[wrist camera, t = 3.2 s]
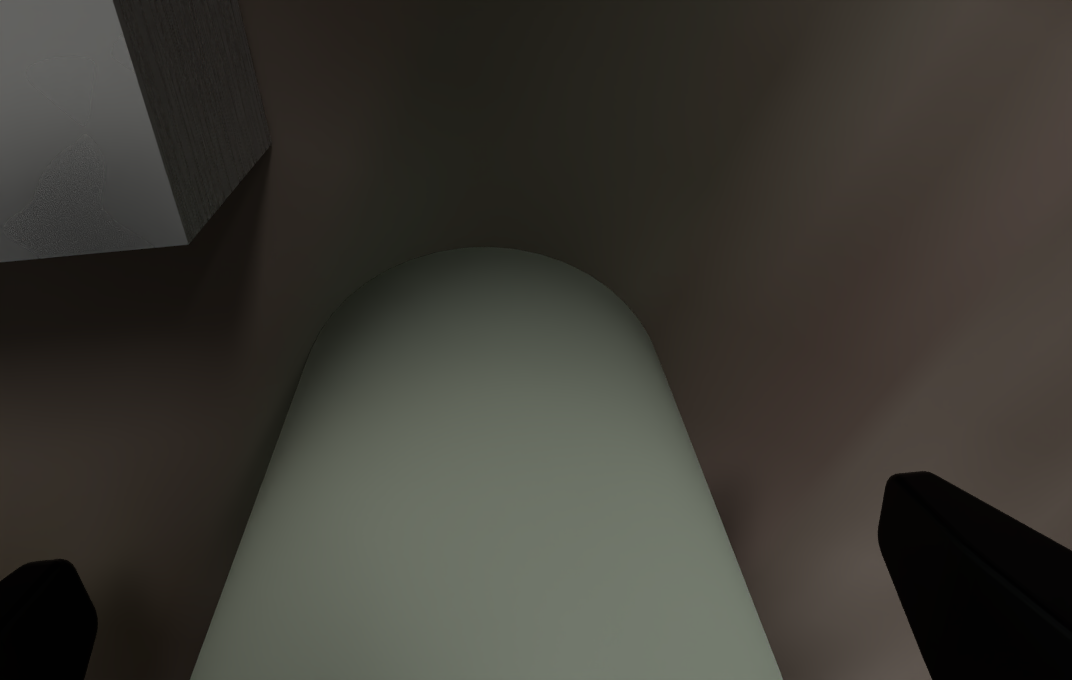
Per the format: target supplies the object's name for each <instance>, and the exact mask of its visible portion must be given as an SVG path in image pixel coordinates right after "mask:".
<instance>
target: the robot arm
mask: <svg viewBox="0 0 1072 680" xmlns="http://www.w3.org/2000/svg"><path fill="white" fill-rule="evenodd" d="M878 542H879V547H880V550H881V553H882V556H883V558H884V561H885V563H886V566H887V568H888V571H889V574H890V576H891V579H892V581H893V584H894V586H895V589H896V591H897V594H898V596H899V599H900V601H901V604H902V606H903V609H904V611H905V614H906V616H907V619H908V622H909V624H910V627H911V629H912V632H913V634H914V637H915V639H916V642H917V644H918V647H919V649H920V652H921V654H922V657H923V659H924V662H925V664H926V666H927V669H928V671H929V673H930V676H931V678H932V680H1072V551H1071V550H1070V549H1068V548H1066V547H1064V546H1062V545H1061V544H1059V543H1057V542H1055V541H1053V540H1052V539H1050V538H1048V537H1046V536H1044V535H1043V534H1041V533H1039V532H1037V531H1035V530H1034V529H1032V528H1030V527H1028V526H1027V525H1025V524H1023V523H1021V522H1019V521H1018V520H1016V519H1014V518H1012V517H1010V516H1009V515H1007V514H1005V513H1003V512H1001V511H1000V510H998V509H996V508H994V507H992V506H991V505H989V504H987V503H985V502H983V501H982V500H980V499H978V498H976V497H974V496H973V495H971V494H969V493H967V492H965V491H964V490H962V489H960V488H958V487H956V486H955V485H953V484H951V483H949V482H947V481H946V480H944V479H942V478H940V477H939V476H937V475H935V474H933V473H930V472H926V471H919V472H909V473H899V474H894V475H892V476H891V477H890V478H889V479H888V481H887V483H886V486H885V492H884V497H883V503H882V509H881V515H880V520H879V526H878ZM97 626H98V620H97V613H96V610H95V607H94V605H93V603H92V601H91V599H90V597H89V595H88V593H87V591H86V589H85V587H84V585H83V583H82V581H81V579H80V577H79V575H78V573H77V571H76V569H75V567H74V565H73V564H72V563H70V562H69V561H67V560H64V559H54V560H45V561H35V562H30V563H27V564H24V565H22V566H21V567H19V568H18V569H17V570H15V571H14V572H12V573H11V574H10V575H8V576H7V577H6V578H4V579H3V580H1V581H0V680H84V678H85V674H86V671H87V667H88V663H89V660H90V656H91V652H92V649H93V645H94V641H95V638H96V634H97Z"/></svg>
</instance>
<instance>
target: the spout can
mask: <svg viewBox="0 0 1072 680" xmlns="http://www.w3.org/2000/svg"><path fill="white" fill-rule="evenodd" d="M190 680H783V678H782V676H781V673H780V670H779V668H778V665H777V663H776V660H775V657H774V655H773V652H772V650H771V647H770V645H769V642H768V639H767V637H766V634H765V632H764V629H763V627H762V624H761V621H760V619H759V616H758V614H757V611H756V609H755V606H754V603H753V601H752V598H751V596H750V593H749V590H748V588H747V585H746V583H745V580H744V578H743V575H742V572H741V570H740V567H739V565H738V562H737V560H736V557H735V554H734V552H733V549H732V547H731V544H730V542H729V539H728V536H727V534H726V531H725V529H724V526H723V523H722V521H721V518H720V516H719V513H718V511H717V508H716V505H715V503H714V500H713V498H712V495H711V493H710V490H709V487H708V485H707V482H706V480H705V477H704V475H703V472H702V469H701V467H700V464H699V462H698V459H697V456H696V454H695V451H694V449H693V446H692V444H691V441H690V438H689V436H688V433H687V431H686V428H685V426H684V423H683V420H682V418H681V415H680V413H679V410H678V408H677V405H676V402H675V400H674V397H673V395H672V392H671V390H670V387H669V384H668V382H667V379H666V377H665V374H664V371H663V369H662V366H661V364H660V361H659V359H658V356H657V354H656V351H655V349H654V346H653V344H652V341H651V339H650V337H649V335H648V334H647V332H646V331H645V329H644V327H643V326H642V324H641V322H640V321H639V319H638V318H637V317H636V316H635V314H634V313H633V312H632V311H631V310H630V308H629V307H628V306H627V305H626V304H625V302H623V301H622V300H621V299H620V298H619V297H618V296H617V295H616V294H615V293H613V292H612V291H611V290H610V289H609V288H608V287H606V286H605V285H604V284H602V283H601V282H599V281H598V280H596V279H595V278H593V277H592V276H590V275H589V274H587V273H585V272H583V271H581V270H579V269H577V268H575V267H573V266H571V265H569V264H567V263H565V262H562V261H559V260H556V259H553V258H550V257H547V256H545V255H541V254H537V253H532V252H527V251H523V250H518V249H509V248H497V247H472V248H459V249H453V250H446V251H440V252H435V253H432V254H429V255H425V256H422V257H418V258H415V259H412V260H409V261H407V262H405V263H402V264H400V265H398V266H395V267H393V268H391V269H388V270H387V271H385V272H383V273H382V274H380V275H378V276H377V277H375V278H373V279H372V280H370V281H368V282H367V283H366V284H364V285H363V286H362V287H361V288H359V289H358V290H357V291H355V292H354V293H353V294H352V295H350V296H349V297H348V298H347V299H346V300H345V301H344V302H343V303H342V304H341V306H340V307H339V308H338V309H337V310H336V311H335V312H334V313H333V314H332V315H331V317H330V318H329V320H328V321H327V323H326V324H325V325H324V327H323V328H322V330H321V331H320V333H319V335H318V337H317V339H316V341H315V343H314V345H313V347H312V349H311V351H310V353H309V356H308V359H307V361H306V364H305V367H304V370H303V372H302V375H301V378H300V381H299V383H298V386H297V389H296V391H295V394H294V397H293V400H292V402H291V405H290V408H289V411H288V413H287V416H286V419H285V421H284V424H283V427H282V430H281V432H280V435H279V438H278V441H277V443H276V446H275V449H274V451H273V454H272V457H271V460H270V462H269V465H268V468H267V471H266V473H265V476H264V479H263V482H262V484H261V487H260V490H259V492H258V495H257V498H256V501H255V503H254V506H253V509H252V512H251V514H250V517H249V520H248V522H247V525H246V528H245V531H244V533H243V536H242V539H241V542H240V544H239V547H238V550H237V552H236V555H235V558H234V561H233V563H232V566H231V569H230V572H229V574H228V577H227V580H226V583H225V585H224V588H223V591H222V593H221V596H220V599H219V602H218V604H217V607H216V610H215V613H214V615H213V618H212V621H211V623H210V626H209V629H208V632H207V634H206V637H205V640H204V643H203V645H202V648H201V651H200V653H199V656H198V659H197V662H196V664H195V667H194V670H193V673H192V675H191V678H190Z"/></svg>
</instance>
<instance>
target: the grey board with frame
mask: <svg viewBox="0 0 1072 680" xmlns="http://www.w3.org/2000/svg"><path fill="white" fill-rule="evenodd" d="M271 144H272V142H271V138H270V134H269V130H268V125H267V121H266V117H265V113H264V109H263V104H262V100H261V96H260V92H259V88H258V84H257V79H256V75H255V71H254V67H253V63H252V59H251V54H250V50H249V46H248V42H247V38H246V34H245V29H244V25H243V21H242V17H241V13H240V9H239V4H238V0H0V262H10V261H20V260H31V259H41V258H52V257H62V256H73V255H84V254H94V253H105V252H115V251H126V250H136V249H147V248H157V247H168V246H179V245H189V243H190V242H191V241H192V240H193V238H194V237H195V236H196V235H197V234H198V232H199V231H200V230H201V229H202V228H203V226H204V225H205V224H206V223H207V222H208V220H209V219H210V218H211V217H212V215H213V214H214V213H215V212H216V211H217V209H218V208H219V207H220V206H221V205H222V203H223V202H224V201H225V200H226V199H227V197H228V196H229V195H230V194H231V192H232V191H233V190H234V189H235V188H236V186H237V185H238V184H239V183H240V182H241V180H242V179H243V178H244V177H245V176H246V174H247V173H248V172H249V171H250V169H251V168H252V167H253V166H254V165H255V163H256V162H257V161H258V160H259V159H260V157H261V156H262V155H263V154H264V153H265V151H266V150H267V149H268V148H269V146H270V145H271Z"/></svg>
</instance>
